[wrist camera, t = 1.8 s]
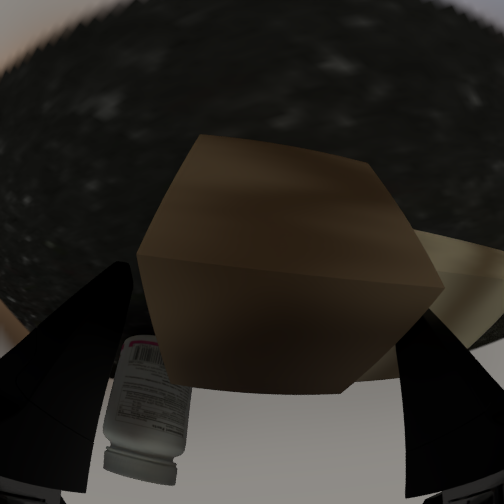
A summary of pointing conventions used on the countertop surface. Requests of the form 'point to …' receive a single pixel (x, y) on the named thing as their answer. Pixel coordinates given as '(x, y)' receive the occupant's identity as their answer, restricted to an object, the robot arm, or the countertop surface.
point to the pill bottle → (145, 415)
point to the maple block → (457, 293)
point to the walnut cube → (279, 270)
